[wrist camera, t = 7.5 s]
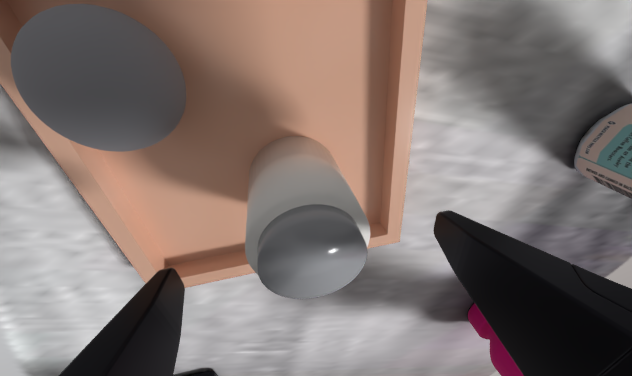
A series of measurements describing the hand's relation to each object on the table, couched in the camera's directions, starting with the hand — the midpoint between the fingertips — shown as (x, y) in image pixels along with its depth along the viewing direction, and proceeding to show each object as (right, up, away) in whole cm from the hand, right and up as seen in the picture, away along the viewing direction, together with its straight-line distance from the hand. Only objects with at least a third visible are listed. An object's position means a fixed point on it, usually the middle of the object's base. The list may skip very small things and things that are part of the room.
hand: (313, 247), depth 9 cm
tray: (-3, +4, +3) cm, 6 cm away
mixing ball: (-6, +6, +1) cm, 9 cm away
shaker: (-1, +3, +4) cm, 5 cm away
